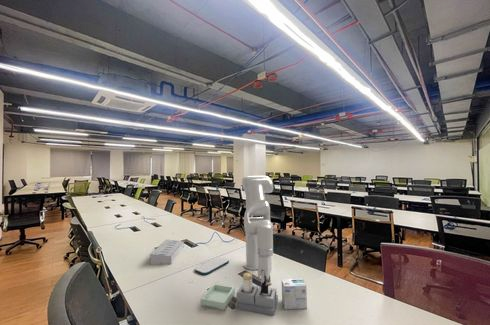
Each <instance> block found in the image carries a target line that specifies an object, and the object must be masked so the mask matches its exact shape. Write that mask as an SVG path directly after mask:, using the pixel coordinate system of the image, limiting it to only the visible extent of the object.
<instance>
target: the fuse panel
mask: <svg viewBox="0 0 490 325" xmlns="http://www.w3.org/2000/svg"><path fill="white" fill-rule="evenodd" d="M278 297H279V296H278V295H277V288H275V287H274V288H273V287H271V297H270V296H263V295H261V285H259V286H258V285H253V284H252V294H251V293H245V292H243V283H241V284H240V287H239V288H238V290H237V292H236V301H235V303H234V309H237V310H241V311H247V312H253V313H258V314H264V315H269V316H274V315H275V312H276V308H277V305H278V304H277V303H278V300H279V298H278Z"/></svg>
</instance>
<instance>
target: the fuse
mask: <svg viewBox="0 0 490 325" xmlns="http://www.w3.org/2000/svg"><path fill="white" fill-rule="evenodd" d="M242 284H243V292H245V293H251V294H252V285H253V274H252V273H251V272H244V273H243V274H242Z"/></svg>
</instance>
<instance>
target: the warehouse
mask: <svg viewBox="0 0 490 325" xmlns="http://www.w3.org/2000/svg"><path fill="white" fill-rule="evenodd" d="M184 243H185V242H184V241H182V240H176V239H175V240H174V239H165V240H164V241H163V242H162V243H160V245H158V246H157V247H156V248H155V249H154V250H153V251H152V252H151V253H150V255H149V260H150V265H152V264H153V265H155V266H156V264H157V265H158V266H159V265H172V264H173V263H174V261H176V258H177V257H178V256H179V254H180V253H181V252H182V251H183V249H184V248H185V244H184Z"/></svg>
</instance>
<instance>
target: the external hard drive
mask: <svg viewBox="0 0 490 325" xmlns="http://www.w3.org/2000/svg"><path fill="white" fill-rule="evenodd" d="M228 264H229V259H228V258H225V257H223V256H217V257H214V258H212V259H210V260H208V261H206V262H204V263H202V264H199V265H198V266H196V267H195V268H194V272H195V273H196V274H199V275H202V276H208V275H210V274H212V273H214V272H216V271H217V270H220V269H221V268H224V266H227V265H228Z"/></svg>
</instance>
